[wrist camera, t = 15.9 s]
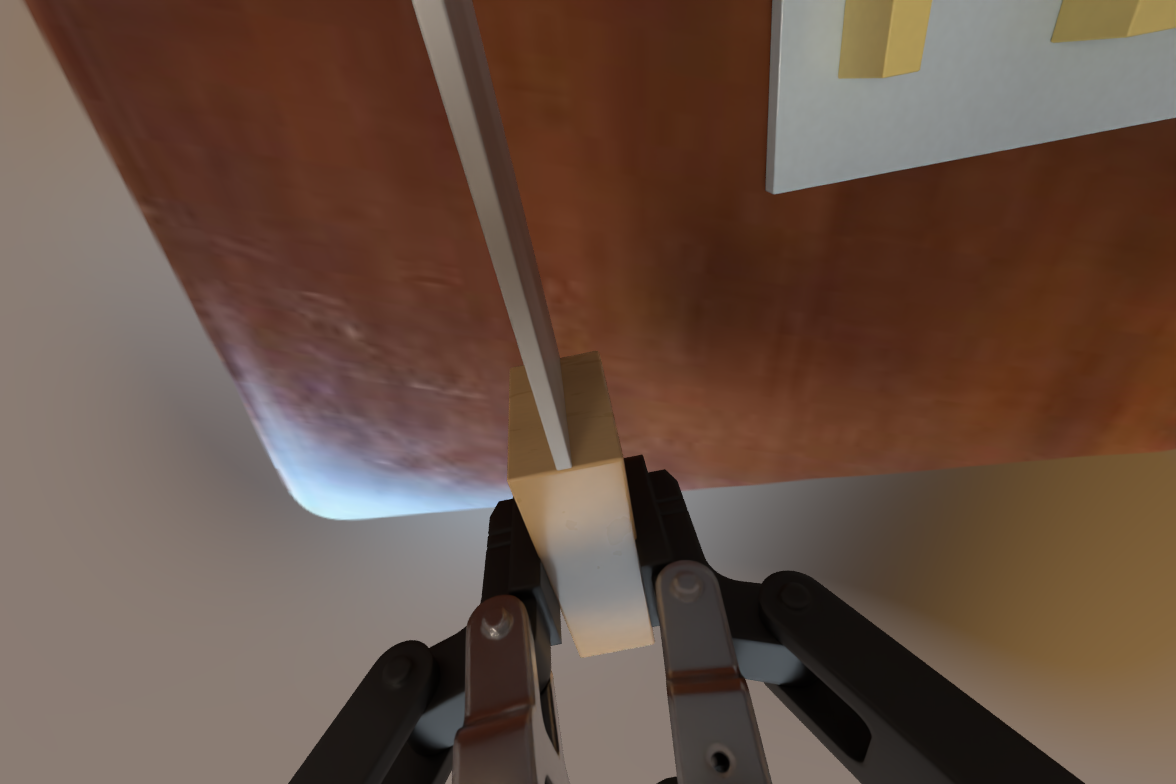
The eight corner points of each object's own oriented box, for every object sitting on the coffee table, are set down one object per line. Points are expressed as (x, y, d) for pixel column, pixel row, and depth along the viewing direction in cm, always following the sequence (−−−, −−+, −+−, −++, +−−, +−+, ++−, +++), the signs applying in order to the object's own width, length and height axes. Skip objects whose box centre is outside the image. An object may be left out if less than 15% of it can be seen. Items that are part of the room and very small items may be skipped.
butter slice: (849, -47, 18) (903, -69, 15) (886, -54, 18) (947, -78, 15) (836, 79, 20) (882, 78, 18) (870, 72, 20) (920, 71, 18)
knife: (632, 537, 17) (655, 645, 14) (570, 549, 17) (580, 659, 14) (490, -249, 6) (464, -472, 3) (316, -210, 6) (138, -396, 3)
